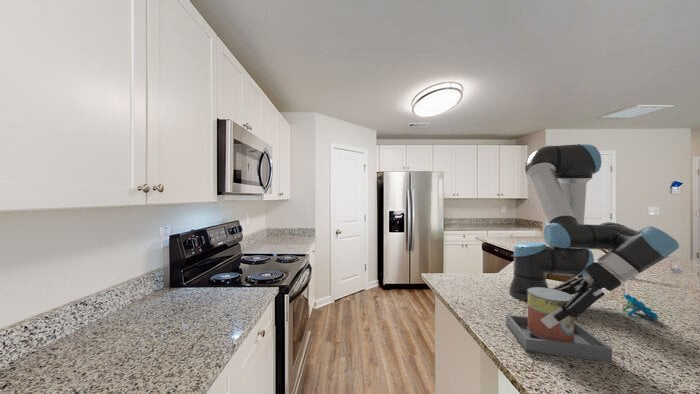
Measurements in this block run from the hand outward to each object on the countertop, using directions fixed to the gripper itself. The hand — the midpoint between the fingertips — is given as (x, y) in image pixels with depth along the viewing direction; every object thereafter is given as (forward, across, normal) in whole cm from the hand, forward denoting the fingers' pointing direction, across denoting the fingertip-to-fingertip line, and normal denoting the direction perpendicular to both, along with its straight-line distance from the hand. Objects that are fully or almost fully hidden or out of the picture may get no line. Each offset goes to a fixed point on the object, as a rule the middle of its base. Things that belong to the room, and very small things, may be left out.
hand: (540, 315), depth 80 cm
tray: (+3, 0, -7) cm, 7 cm away
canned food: (+2, 0, -5) cm, 5 cm away
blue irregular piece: (-19, +36, -30) cm, 51 cm away
